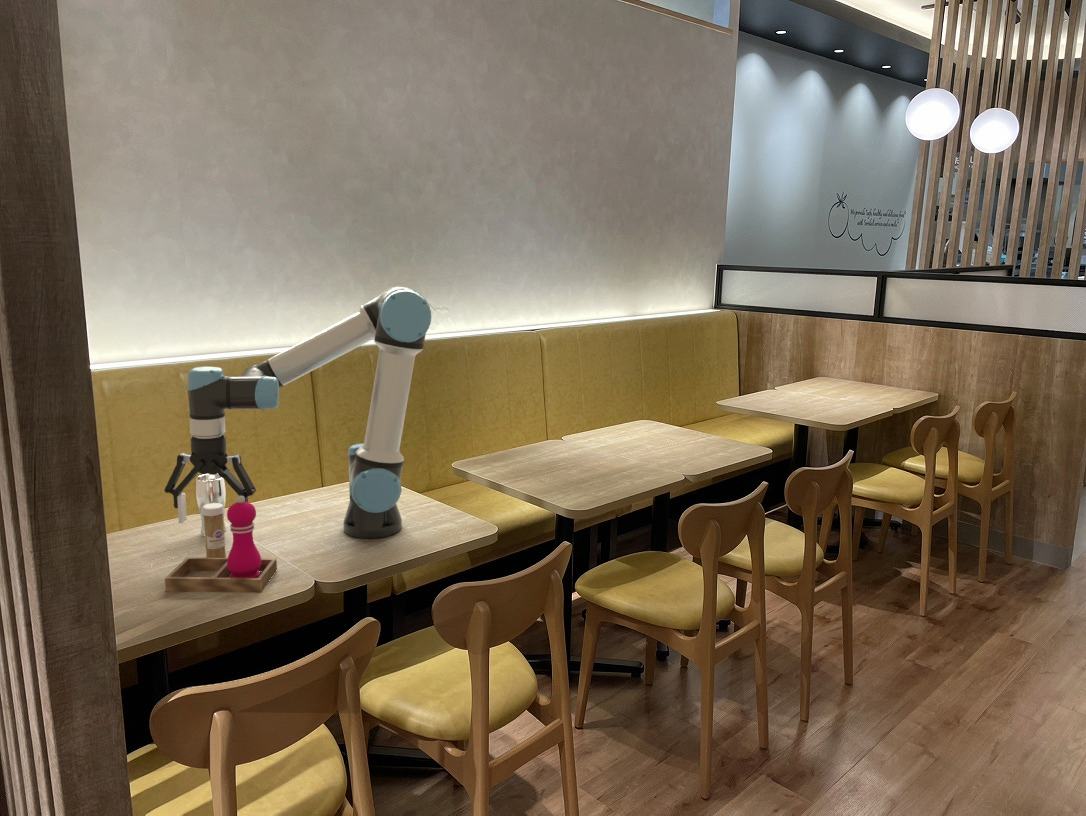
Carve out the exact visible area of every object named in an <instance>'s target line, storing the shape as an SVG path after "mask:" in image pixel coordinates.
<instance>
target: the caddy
mask: <svg viewBox="0 0 1086 816" xmlns="http://www.w3.org/2000/svg"><path fill="white" fill-rule="evenodd" d="M227 559H228V557H226V558H206V557H197V556H196V557H193V556H192V557H189V556H188V557H185V558H184V559H183V560H182V561H181V562H180V563H179V564H178V565H177V566H176V567H175V568H174V569H173V570H172V571H171V572H170V573H169V574H168V575H167V576H165V578H164V585H165V587H164V588H165V592H180V593H181V592H192V593H194V592H195V593H206V592H207V593H248V594H249V593H251V594H252V593H253V594H255V593H257V594H258V593H259V594H261V593H262V592H263V591H264V590H265V588H266V587H267V585H268V584H269V583H270V581H271V580H272V578H273V577H274V576H275V574H276V573H277V572H276V570H277V571H278V565H277V564H278V561H277V559H278V558H267V557H266V558H264V557H263V558H262V557H261V561H262V563H261V566H260V568H259V569H258V571H263V572H260V576H259V577H258V578H230V575H231V573H232V572H230V571H229V570H228V568H227ZM190 572H215V573H214V575H213V576H212V577H209V576H207V577H203V576H201V577H200V576H198V577H197V576H196V577H195V576H187V575H188V574H189V573H190ZM275 572H276V573H275ZM274 573H275V574H274ZM273 575H274V576H273ZM272 576H273V577H272ZM271 577H272V578H271ZM270 579H271V580H270ZM269 580H270V581H269ZM268 582H269V583H268ZM267 583H268V584H267ZM265 586H266V587H265Z"/></svg>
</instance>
